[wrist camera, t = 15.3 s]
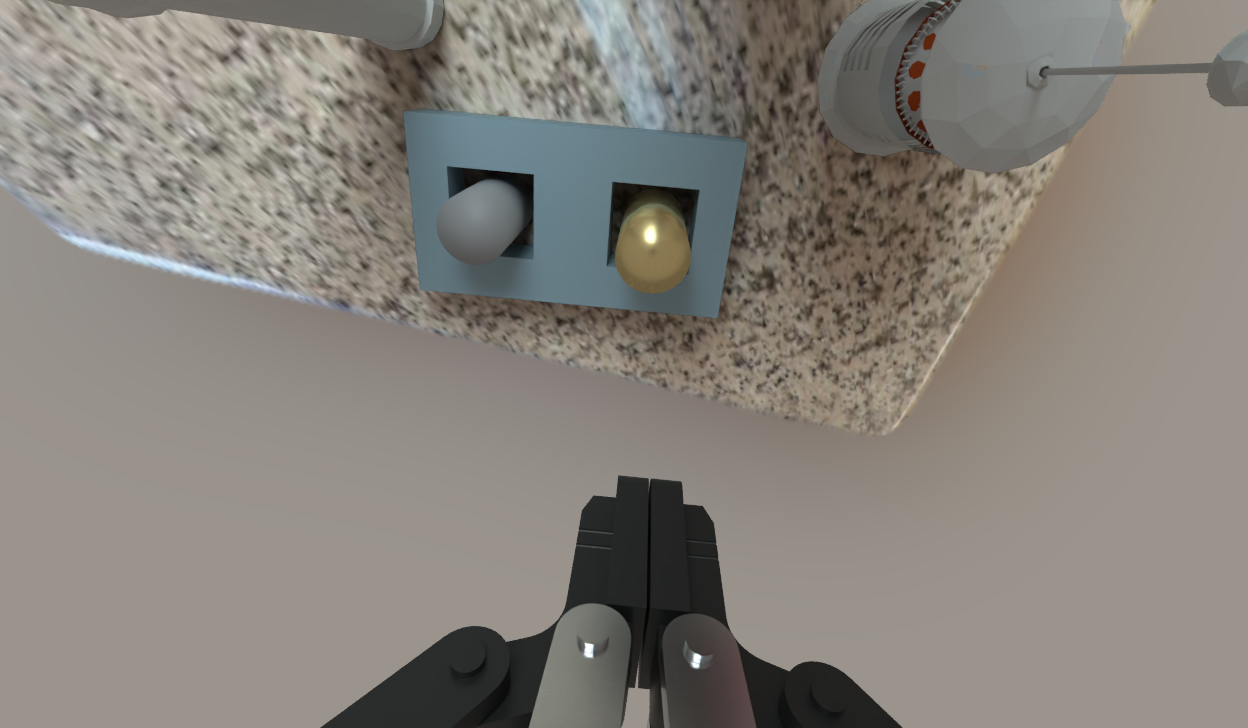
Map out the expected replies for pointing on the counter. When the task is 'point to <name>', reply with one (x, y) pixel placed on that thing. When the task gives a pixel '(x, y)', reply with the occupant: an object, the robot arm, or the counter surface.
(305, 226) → the counter surface
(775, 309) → the counter surface
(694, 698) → the robot arm
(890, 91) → the french press
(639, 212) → the gold cylinder
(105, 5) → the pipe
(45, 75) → the counter surface
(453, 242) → the jig
